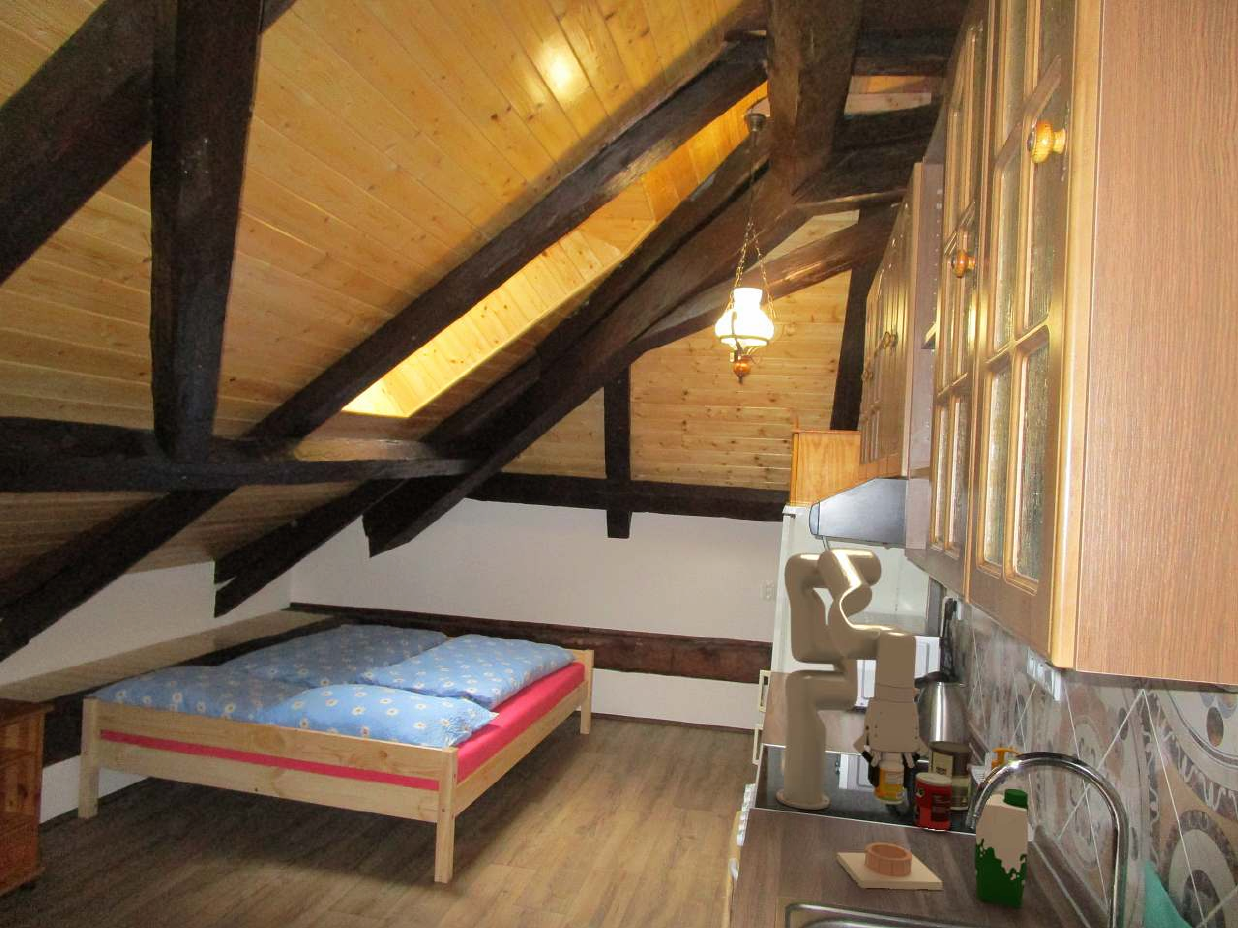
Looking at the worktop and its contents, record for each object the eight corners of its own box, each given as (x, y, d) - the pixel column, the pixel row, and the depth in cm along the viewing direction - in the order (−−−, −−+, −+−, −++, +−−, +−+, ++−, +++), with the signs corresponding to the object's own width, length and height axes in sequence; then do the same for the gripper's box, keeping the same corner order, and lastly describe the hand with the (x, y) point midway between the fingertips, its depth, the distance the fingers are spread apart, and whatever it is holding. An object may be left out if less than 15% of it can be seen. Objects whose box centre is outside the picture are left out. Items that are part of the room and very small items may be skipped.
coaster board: (836, 859, 180) (837, 852, 180) (912, 861, 182) (912, 854, 182) (861, 888, 167) (861, 880, 167) (941, 889, 169) (942, 881, 169)
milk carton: (1025, 911, 162) (1031, 801, 163) (972, 900, 165) (977, 791, 166) (1023, 893, 170) (1029, 787, 171) (973, 882, 173) (978, 779, 174)
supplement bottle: (871, 794, 178) (874, 745, 179) (899, 796, 178) (902, 748, 178) (876, 803, 173) (879, 752, 173) (904, 806, 172) (907, 755, 173)
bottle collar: (858, 857, 178) (859, 841, 179) (899, 858, 179) (900, 843, 180) (875, 875, 170) (876, 859, 170) (918, 876, 171) (919, 860, 171)
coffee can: (969, 800, 224) (971, 744, 225) (971, 813, 214) (974, 754, 215) (925, 793, 227) (928, 738, 228) (926, 805, 218) (929, 747, 218)
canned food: (918, 817, 209) (921, 769, 210) (953, 826, 205) (956, 778, 205) (908, 825, 203) (911, 777, 203) (944, 835, 198) (947, 785, 199)
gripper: (926, 691, 181) (922, 780, 180) (845, 687, 179) (840, 777, 178) (943, 699, 173) (938, 793, 172) (858, 695, 172) (853, 790, 171)
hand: (888, 784), depth 175 cm, fingers closed on supplement bottle, 5 cm apart
